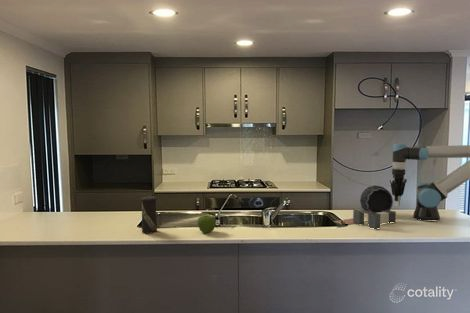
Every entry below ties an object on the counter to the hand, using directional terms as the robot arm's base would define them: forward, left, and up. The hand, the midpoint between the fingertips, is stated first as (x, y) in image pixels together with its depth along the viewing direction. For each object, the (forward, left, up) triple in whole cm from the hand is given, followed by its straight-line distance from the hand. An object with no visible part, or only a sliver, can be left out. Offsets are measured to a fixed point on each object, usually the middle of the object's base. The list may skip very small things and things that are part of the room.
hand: (397, 206), depth 228 cm
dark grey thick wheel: (+1, -16, -10) cm, 18 cm away
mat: (+27, -12, -9) cm, 31 cm away
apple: (+116, -32, -10) cm, 120 cm away
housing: (+27, 0, -9) cm, 28 cm away
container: (+144, -49, -10) cm, 152 cm away
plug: (+14, 0, -9) cm, 17 cm away
